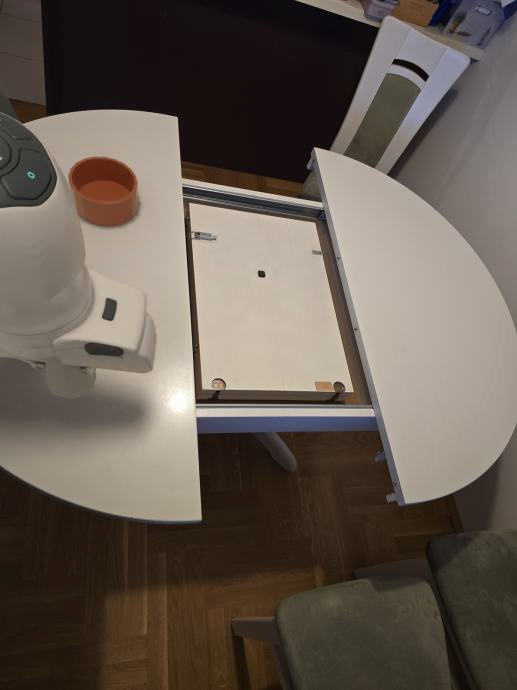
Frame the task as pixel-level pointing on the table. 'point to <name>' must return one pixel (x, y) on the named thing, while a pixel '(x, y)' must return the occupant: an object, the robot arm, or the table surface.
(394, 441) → the table surface
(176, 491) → the table surface
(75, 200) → the pot
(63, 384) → the grey rounded piece
